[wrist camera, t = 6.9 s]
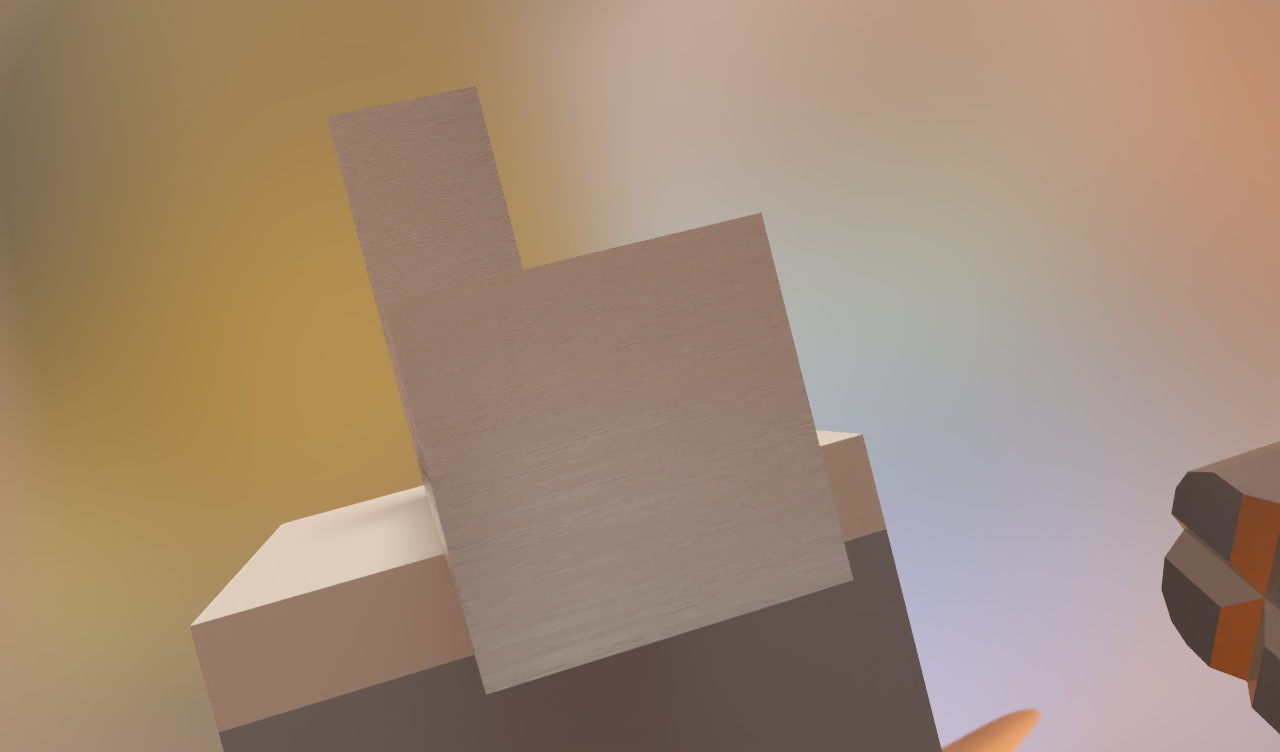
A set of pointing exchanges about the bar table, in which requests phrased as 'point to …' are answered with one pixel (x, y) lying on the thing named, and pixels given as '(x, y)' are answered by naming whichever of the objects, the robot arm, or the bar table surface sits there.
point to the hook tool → (585, 407)
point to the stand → (564, 701)
